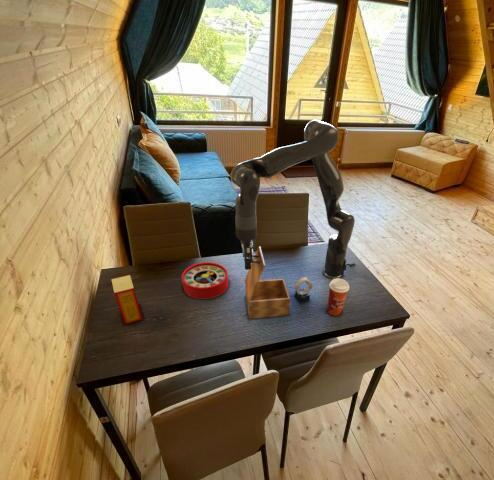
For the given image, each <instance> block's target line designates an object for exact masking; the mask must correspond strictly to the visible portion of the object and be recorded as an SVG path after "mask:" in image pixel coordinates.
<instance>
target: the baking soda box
mask: <svg viewBox="0 0 494 480" xmlns="http://www.w3.org/2000/svg"><path fill="white" fill-rule="evenodd" d="M110 281H111V283H112V284H111V285H112V289H113V294H114V296H115V299H116V302H117V306H118V308H119V311H120V314H121V317H122V320H123V323H124V325H128V324H132V323H134V322H138V321H142V320H144V318H143V314H142V311H141V308H140V306H139V300H138V297H137V294H136V291H135V288H134V285H133V280H132V277H131V274H127V275H122V276H119V277H113V278H111V280H110Z"/></svg>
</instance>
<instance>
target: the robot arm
mask: <svg viewBox="0 0 494 480" xmlns="http://www.w3.org/2000/svg"><path fill="white" fill-rule="evenodd" d="M303 131H304V132H303V140H304V141H302V142H298V143H295V144H290V145H286V146H281V147H278V148H275V149H273V150H271V151H270V152H267V153H266V154H263V155H261V157H255V158H253V159H249V160H246V161H243V162H240V163H238V164H236V166H234V167H233V168H232V169H231V172H230V179H231V181H232V183H233V184H234V185H235V186H237V187H238V188H239V191H240V192H239V194H237V196H236V197H235V199H234V201H235V202H234V205H235V206H234V207H235V215H234V224H235V225H234V226H235V227H234V228H235V237H236V238H237V239H238V240H240V245H241V246H240V247H241V248H242V249H241V250H242V257H243V261H244V270H245V271H247V270H248V271H249V269H251V264H252V263H251V262H252V258H253V257H252V254H253V242H252V241H253V240H255V239H256V238H257V235H258V217H257V201H258V197H259V194H260V193H259V192H260V188H261V179H260V178H265V179H270V178H272V177H274V176H276V175H277V174H280V173H281V172H283V171H285V170H286V169H288V168H291V167H292V166H295V165H298V164H300V163H303V162H305V161H308V160H312V161H311V162H312V163H313V167H314V171H315V174H316V177H317V181H318V182H317V183H318V186H319V188H320V193H321V195H322V199H323V203H324V207H325V212H326V219H327V224H328V226H329V227H330V229H332V230H334V231H336V232H338V233H334V234H332V235H330V236H329V237H328V241H327V247H326V253H325V261H324V266H323V271H322V273H323V275H324V276H325V277H327V278H329V279H332V280H333V279H336V278H340V279H341V277H344V274H345V271H347V266H349V267H352V266H355V265H356V264H355V263H352V264H350V263H347V259H346V256H347V251H348V246H349V243H350V241H351V238H352V235H353V231H354V227H355V223H356V219H355V216H354V215H353V214H351V213H350V212H349V213H348V212H346V211H345V210H343V209H342V208H341V204H340V199H341V197H342V196H343V194H344V190H345V187H344V183H343V177H342V176H343V175H342V173H341V171H340V169H339V167H338V166H337V164H336V163H335V161H334V160H333V158H332V156H331V155H330V152H332V151H333V150H334V149H335V148H336V146H337V145H338V143H339V140H340V139H339V138H340V135H339V130H338V129H337V128H336V127H335V126H333V125H332V124H330V123H327V122H326V121H325V122H324V121H321V120H318V119H313V120H310V121H309V122H308V123H307V124H306V126H305V128H304V130H303ZM248 257H250V258H248Z"/></svg>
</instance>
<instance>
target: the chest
mask: <svg viewBox="0 0 494 480" xmlns="http://www.w3.org/2000/svg"><path fill="white" fill-rule="evenodd" d="M245 301H246V308H247V314H248V319H249V320H251V319H252V320H253V319H261V318H263V319H264V318H272V317H283V316H290V309H291V295H290V293H289V289H288V286H287V284H286V281H285V278H273V279H260V280H259V282H258V284H257V286H256V289H255V291H254V293H253V295H252V298H251V300H250V302H249V301H248V298H247V292H246V291H245Z"/></svg>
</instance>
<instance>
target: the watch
mask: <svg viewBox="0 0 494 480" xmlns="http://www.w3.org/2000/svg"><path fill="white" fill-rule="evenodd" d="M304 282H305V284H306V285H307V287H306V288H300V289H299V286H300V285H301V284H302V283H304ZM313 287H314V285H313V283H312V282H311V280H310V279H309V278H308V277H307V276H303V277H300V278H299V279H297V281H296V282H295V284H294V297H295V299H296V300H297V301H298V302H299V303H300V304H304V303H307V302H310V299H311V298H310V297H311V295H310V294H309V293H310V292H311V290H312V289H313Z"/></svg>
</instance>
